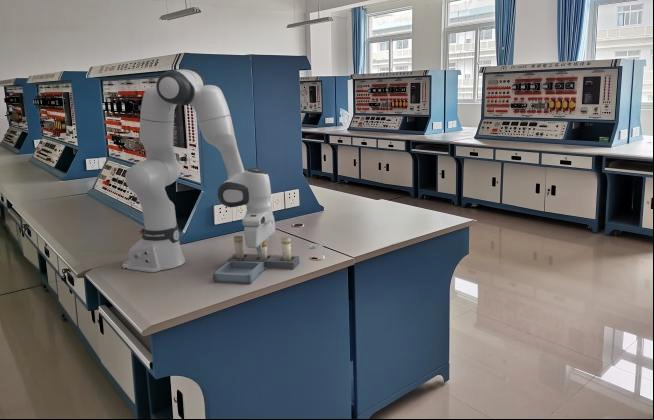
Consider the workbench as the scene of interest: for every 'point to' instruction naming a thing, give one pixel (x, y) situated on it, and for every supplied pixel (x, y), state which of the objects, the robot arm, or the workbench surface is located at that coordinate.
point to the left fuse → (239, 247)
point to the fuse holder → (270, 261)
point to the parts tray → (239, 272)
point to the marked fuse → (264, 251)
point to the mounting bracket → (315, 246)
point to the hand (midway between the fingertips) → (262, 252)
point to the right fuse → (286, 248)
